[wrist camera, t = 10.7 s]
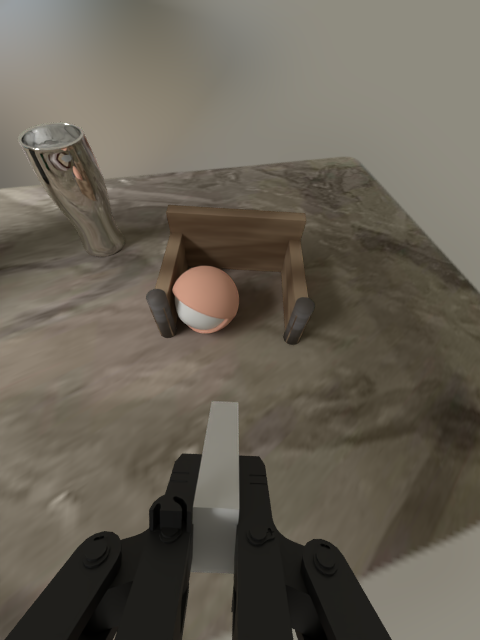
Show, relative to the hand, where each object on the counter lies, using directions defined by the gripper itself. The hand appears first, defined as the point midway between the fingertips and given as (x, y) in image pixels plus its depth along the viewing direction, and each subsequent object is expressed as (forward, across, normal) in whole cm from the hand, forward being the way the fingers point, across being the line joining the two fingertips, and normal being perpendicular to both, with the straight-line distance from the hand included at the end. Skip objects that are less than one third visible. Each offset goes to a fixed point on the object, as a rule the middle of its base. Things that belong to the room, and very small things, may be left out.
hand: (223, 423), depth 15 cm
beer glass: (+30, -21, +10) cm, 38 cm away
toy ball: (+20, -3, +2) cm, 21 cm away
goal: (+23, 0, +4) cm, 23 cm away
